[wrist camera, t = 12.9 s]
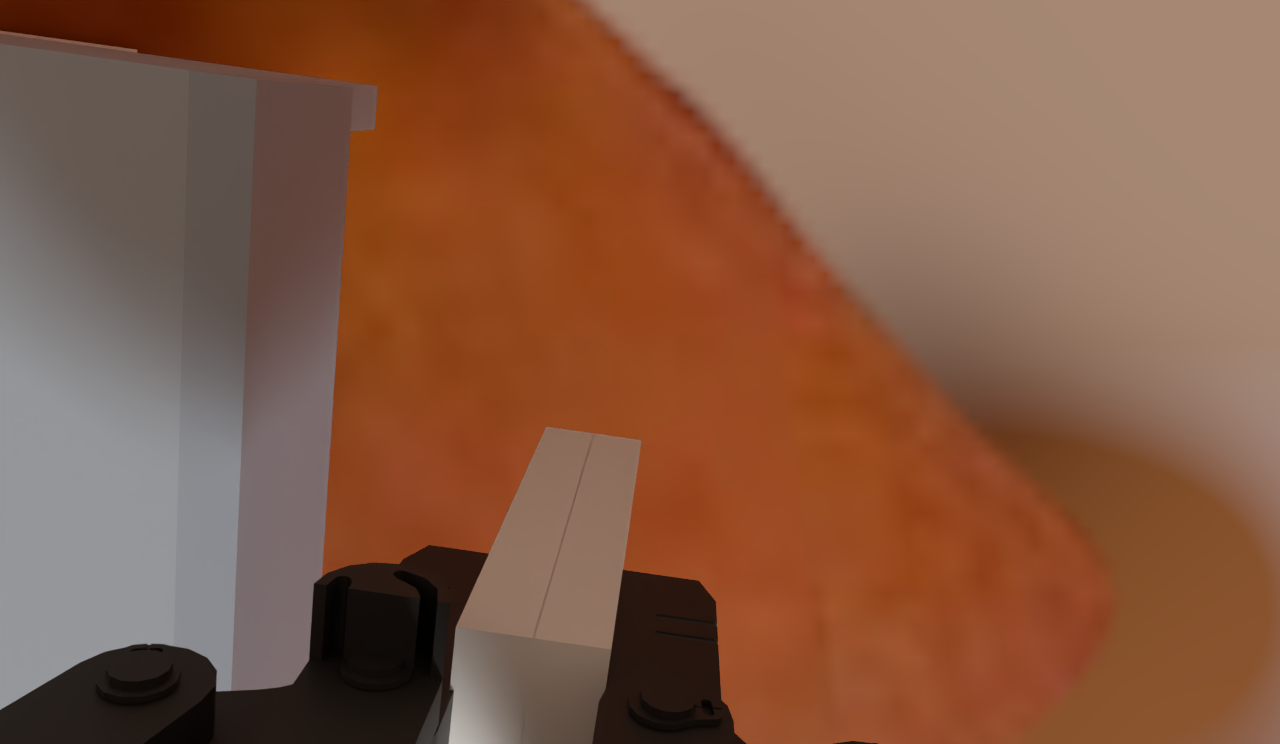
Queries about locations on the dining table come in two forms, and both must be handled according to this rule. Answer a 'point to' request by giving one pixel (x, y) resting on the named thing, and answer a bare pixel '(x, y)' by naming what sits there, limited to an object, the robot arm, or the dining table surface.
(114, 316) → the lid
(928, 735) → the dining table surface
